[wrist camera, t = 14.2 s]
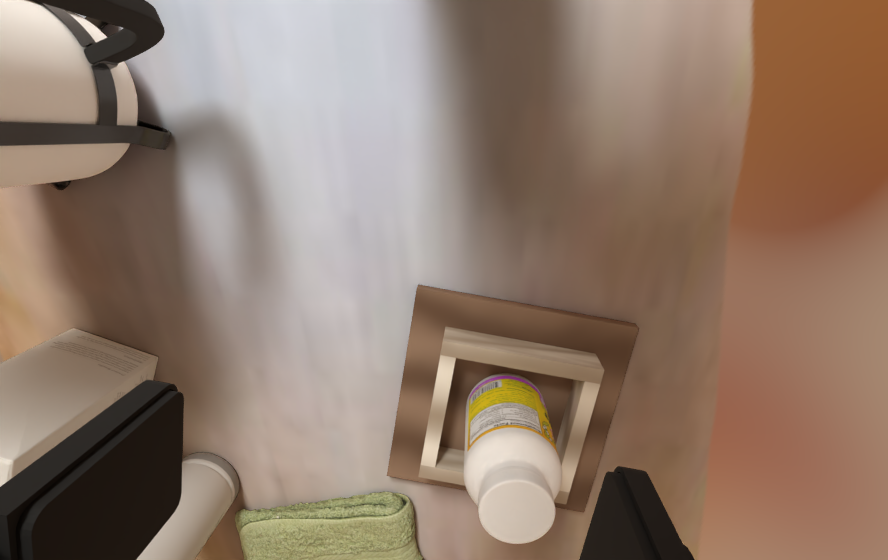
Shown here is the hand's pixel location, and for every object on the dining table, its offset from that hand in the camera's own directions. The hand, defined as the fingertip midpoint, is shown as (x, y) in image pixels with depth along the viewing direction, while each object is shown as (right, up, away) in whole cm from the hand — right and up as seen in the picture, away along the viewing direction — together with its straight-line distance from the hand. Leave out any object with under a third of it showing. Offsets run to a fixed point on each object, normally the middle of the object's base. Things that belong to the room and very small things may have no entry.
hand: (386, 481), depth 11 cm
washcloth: (-9, -22, +39) cm, 46 cm away
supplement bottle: (+6, -6, +32) cm, 33 cm away
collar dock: (+6, -6, +33) cm, 34 cm away
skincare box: (-29, -4, +35) cm, 45 cm away
